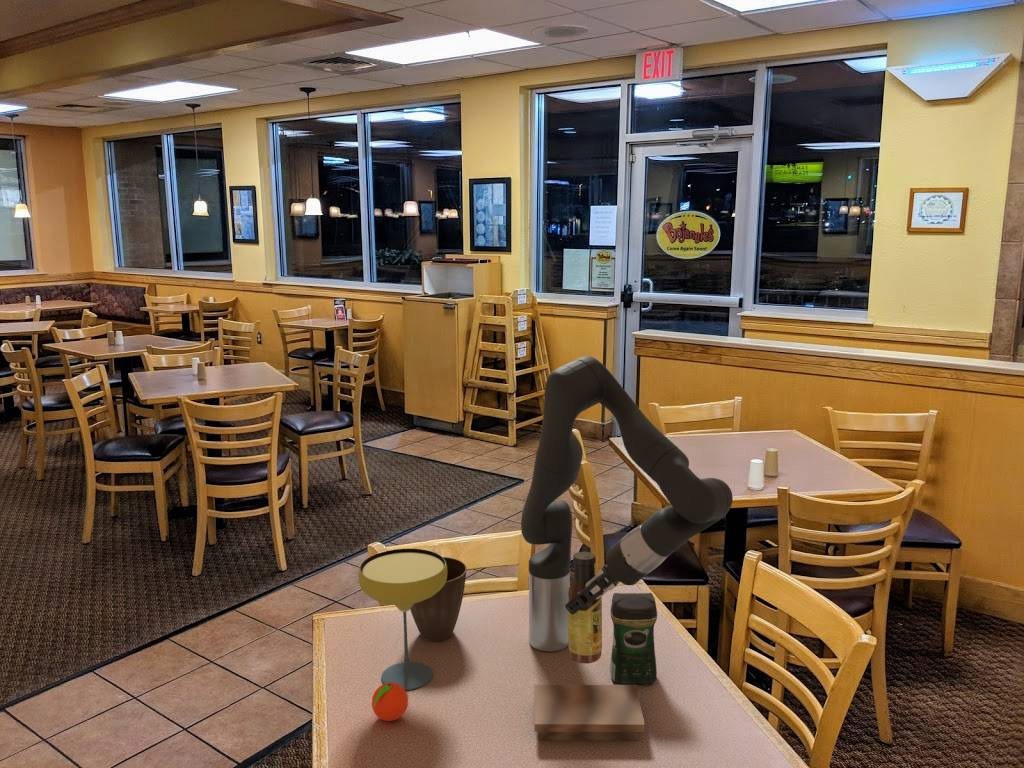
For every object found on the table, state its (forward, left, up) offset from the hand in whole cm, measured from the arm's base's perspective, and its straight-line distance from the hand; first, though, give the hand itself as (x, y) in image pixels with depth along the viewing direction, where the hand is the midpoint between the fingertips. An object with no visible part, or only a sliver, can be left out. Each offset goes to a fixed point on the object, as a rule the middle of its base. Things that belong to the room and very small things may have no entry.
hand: (576, 602), depth 150 cm
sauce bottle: (0, +2, -10) cm, 11 cm away
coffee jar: (-19, +4, -24) cm, 31 cm away
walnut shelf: (0, +2, -24) cm, 24 cm away
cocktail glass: (+3, -38, -24) cm, 45 cm away
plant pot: (-15, -43, -24) cm, 52 cm away
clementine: (+17, -32, -24) cm, 44 cm away
